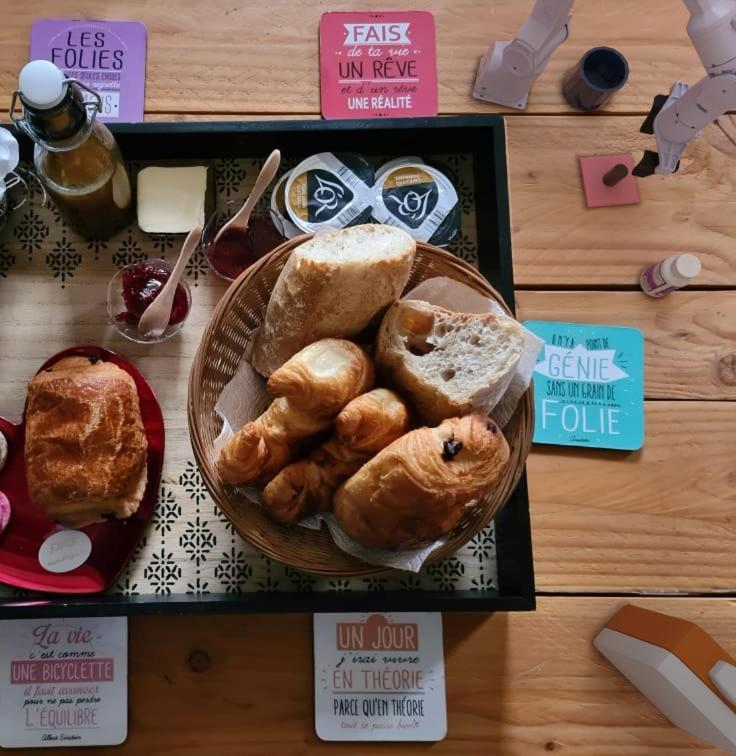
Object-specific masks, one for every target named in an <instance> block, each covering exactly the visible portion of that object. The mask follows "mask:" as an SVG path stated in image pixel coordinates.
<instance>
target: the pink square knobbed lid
mask: <svg viewBox="0 0 736 756" xmlns="http://www.w3.org/2000/svg"><path fill="white" fill-rule="evenodd" d="M578 161H579V167H580V168H579V169H580V174H581V180H582V186H583V191H584V198H585V203H586V208H598V207H609V206H610V207H611V206H623V205H634V204H635V205H636V204H639V203H640V199H639V193H638V186H637V181H636V176H633V175H631V174H632V170H633V169H634V164H633V158H632V154H631V153H623V154H611V155H599V156H598V155H597V156H586V157H579V159H578Z"/></svg>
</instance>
